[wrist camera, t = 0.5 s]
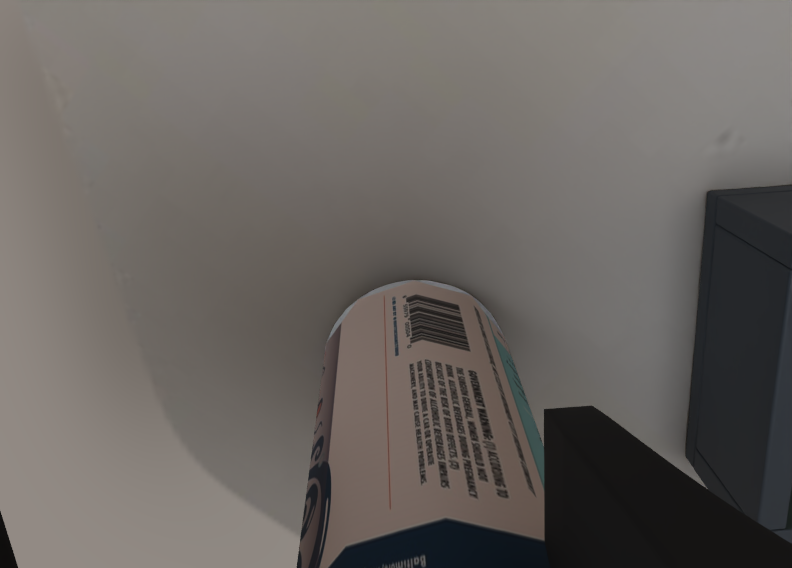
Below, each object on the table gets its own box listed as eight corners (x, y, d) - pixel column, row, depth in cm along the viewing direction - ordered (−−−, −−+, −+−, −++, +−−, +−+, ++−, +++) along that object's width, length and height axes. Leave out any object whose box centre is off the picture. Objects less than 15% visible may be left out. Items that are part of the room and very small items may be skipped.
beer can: (288, 340, 19) (166, 848, 8) (433, 235, 18) (528, 650, 7) (398, 458, 21) (425, 1017, 10) (537, 367, 19) (751, 877, 8)
